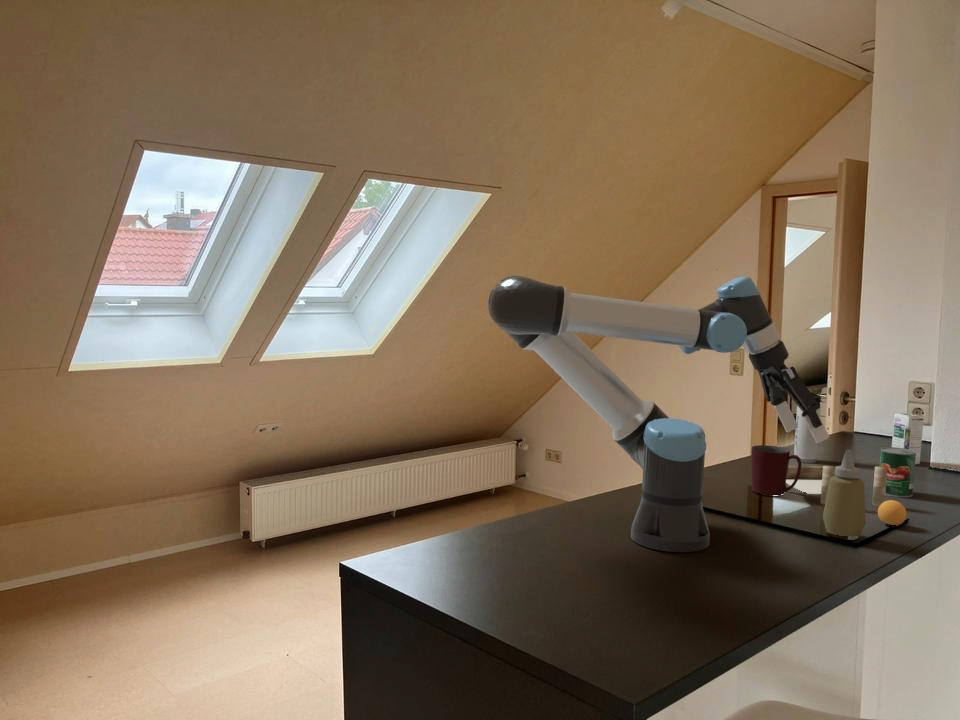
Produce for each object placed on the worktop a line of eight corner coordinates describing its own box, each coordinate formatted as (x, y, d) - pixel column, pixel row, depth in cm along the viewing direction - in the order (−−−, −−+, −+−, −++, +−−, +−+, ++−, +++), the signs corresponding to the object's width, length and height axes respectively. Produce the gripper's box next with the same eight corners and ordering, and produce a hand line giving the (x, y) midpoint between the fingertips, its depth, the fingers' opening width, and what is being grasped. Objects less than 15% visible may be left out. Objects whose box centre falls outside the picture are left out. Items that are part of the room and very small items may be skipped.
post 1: (823, 506, 186) (826, 468, 185) (818, 502, 189) (820, 465, 188) (834, 506, 186) (837, 468, 185) (829, 503, 189) (831, 465, 188)
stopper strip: (774, 478, 212) (774, 467, 212) (770, 476, 214) (771, 465, 214) (832, 479, 213) (833, 468, 213) (828, 477, 215) (829, 466, 215)
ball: (886, 529, 169) (887, 504, 168) (871, 521, 174) (873, 497, 174) (910, 529, 169) (913, 504, 169) (896, 521, 175) (897, 497, 174)
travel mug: (818, 460, 236) (822, 393, 234) (814, 464, 231) (819, 395, 229) (796, 457, 240) (800, 391, 238) (791, 461, 234) (796, 393, 232)
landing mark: (805, 494, 196) (805, 493, 196) (781, 480, 210) (781, 479, 210) (860, 494, 197) (860, 494, 197) (832, 480, 211) (832, 480, 211)
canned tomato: (881, 495, 197) (885, 452, 196) (874, 488, 204) (877, 446, 203) (916, 498, 195) (920, 454, 194) (907, 490, 203) (911, 448, 202)
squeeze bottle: (869, 545, 158) (876, 456, 156) (826, 541, 160) (832, 453, 158) (858, 532, 166) (865, 447, 164) (817, 529, 168) (823, 445, 166)
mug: (805, 495, 195) (808, 451, 194) (791, 502, 188) (794, 456, 187) (758, 486, 203) (760, 443, 202) (742, 492, 197) (745, 448, 196)
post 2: (875, 506, 187) (878, 468, 186) (869, 503, 189) (872, 466, 188) (886, 506, 187) (889, 469, 186) (880, 503, 190) (883, 466, 189)
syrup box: (889, 461, 238) (893, 413, 236) (905, 460, 240) (908, 412, 238) (904, 465, 232) (908, 416, 231) (920, 464, 234) (924, 415, 233)
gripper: (808, 341, 155) (853, 436, 157) (755, 336, 180) (795, 418, 182) (774, 359, 155) (820, 453, 157) (726, 351, 180) (766, 433, 182)
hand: (807, 434), depth 170 cm, fingers open, 13 cm apart
